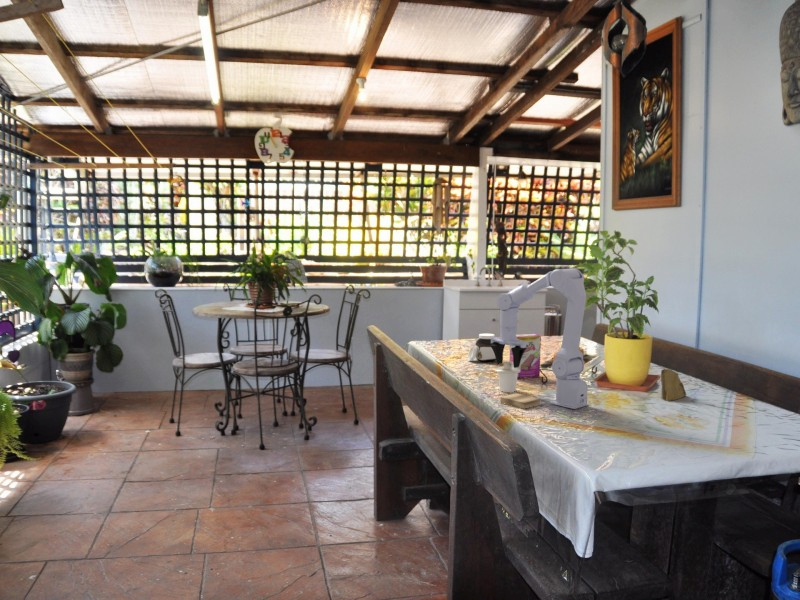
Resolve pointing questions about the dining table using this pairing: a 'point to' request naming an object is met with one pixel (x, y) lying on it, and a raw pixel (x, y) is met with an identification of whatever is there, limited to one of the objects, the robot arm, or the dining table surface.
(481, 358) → the spread jar
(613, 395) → the dining table surface
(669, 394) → the rock
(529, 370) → the candy bar box
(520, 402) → the trivet
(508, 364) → the lid
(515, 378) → the white cup
